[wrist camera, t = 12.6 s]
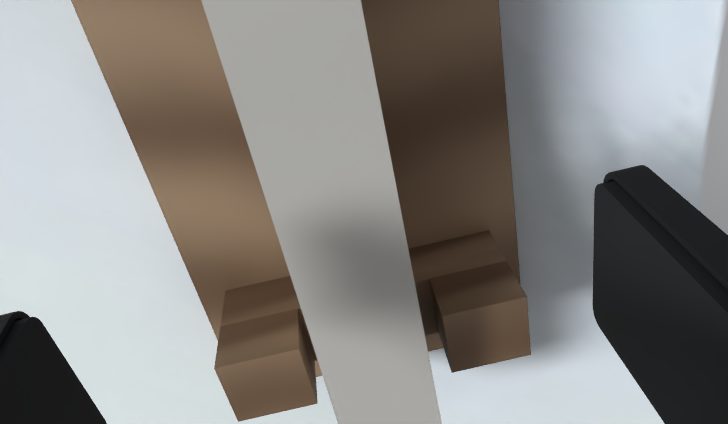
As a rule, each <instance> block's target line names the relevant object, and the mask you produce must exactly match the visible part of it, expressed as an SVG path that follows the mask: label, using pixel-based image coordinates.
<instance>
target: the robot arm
mask: <svg viewBox="0 0 728 424" xmlns="http://www.w3.org/2000/svg"><path fill="white" fill-rule="evenodd" d="M593 311H594V316H595V319H596V321H597V324H598V326H599V327H600V329H601V330H602V332H603V333H604V335H605V336H606V338H607V339H608V341H609V342H610V344H611V345H612V347H613V348H614V349H615V351H616V352H617V354H618V355H619V357H620V358H621V360H622V361H623V363H624V364H625V366H626V367H627V369H628V370H629V372H630V373H631V374H632V376H633V377H634V379H635V380H636V382H637V383H638V385H639V386H640V388H641V389H642V391H643V392H644V394H645V395H646V397H647V398H648V399H649V401H650V402H651V404H652V405H653V407H654V408H655V410H656V411H657V413H658V414H659V416H660V417H661V419H662V420H663V422H664V423H665V424H728V235H727V234H726V233H724V232H723V231H722V230H721V229H720V228H718V227H717V226H716V225H715V224H714V223H713V222H711V221H710V220H709V219H708V218H707V217H706V216H704V215H703V214H702V213H701V212H700V211H698V210H697V209H696V208H695V207H694V206H693V205H691V204H690V203H689V202H688V201H687V200H686V199H684V198H683V197H682V196H681V195H680V194H679V193H677V192H676V191H675V190H674V189H673V188H671V187H670V186H669V185H668V184H667V183H666V182H664V181H663V180H662V179H661V178H660V177H659V176H657V175H656V174H655V173H654V172H653V171H652V170H650V169H649V168H648V167H646V166H644V165H640V166H635V167H631V168H627V169H623V170H618V171H614V172H610V173H608V174H607V175H606V176H605V178H604V183H601V184H598V185H597V186H596V188H595V198H594V261H593ZM0 424H107V423H106V421H105V419H104V418H103V416H102V415H101V413H100V412H99V410H98V409H97V407H96V405H95V404H94V402H93V401H92V399H91V398H90V396H89V395H88V393H87V392H86V390H85V388H84V387H83V385H82V384H81V382H80V381H79V379H78V378H77V376H76V375H75V373H74V371H73V370H72V368H71V367H70V365H69V364H68V362H67V361H66V359H65V358H64V356H63V354H62V353H61V351H60V350H59V348H58V347H57V345H56V344H55V342H54V341H53V339H52V337H51V336H50V334H49V333H48V331H47V330H46V328H45V327H44V325H43V324H42V322H41V321H40V320H39V319H38V318H36V317H29V316H28V315H27V314H26V313H24V312H20V311H17V312H12V313H8V314H4V315H0Z"/></svg>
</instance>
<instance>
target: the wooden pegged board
mask: <svg viewBox="0 0 728 424" xmlns="http://www.w3.org/2000/svg"><path fill="white" fill-rule="evenodd" d="M71 1H72V4H73V6H74V8H75V11H76V13H77V15H78V18H79V20H80V22H81V25H82V27H83V29H84V32H85V34H86V36H87V38H88V41H89V43H90V45H91V48H92V50H93V52H94V55H95V57H96V59H97V62H98V64H99V66H100V69H101V71H102V73H103V76H104V78H105V80H106V82H107V85H108V87H109V89H110V92H111V94H112V96H113V99H114V101H115V103H116V106H117V108H118V110H119V113H120V115H121V117H122V120H123V122H124V124H125V126H126V129H127V131H128V133H129V136H130V138H131V140H132V143H133V145H134V147H135V150H136V152H137V154H138V157H139V159H140V161H141V164H142V166H143V168H144V170H145V173H146V175H147V177H148V180H149V182H150V184H151V187H152V189H153V191H154V194H155V196H156V198H157V201H158V203H159V205H160V208H161V210H162V212H163V214H164V217H165V219H166V221H167V224H168V226H169V228H170V231H171V233H172V235H173V238H174V240H175V242H176V245H177V247H178V249H179V252H180V254H181V256H182V259H183V261H184V263H185V265H186V268H187V270H188V272H189V275H190V277H191V279H192V282H193V284H194V286H195V289H196V291H197V293H198V296H199V298H200V300H201V303H202V305H203V307H204V309H205V312H206V314H207V316H208V319H209V321H210V323H211V326H212V328H213V330H214V333H215V335H216V337H217V340H218V346H217V354H216V361H215V368H214V369H215V371H216V373H217V375H218V378H219V380H220V382H221V384H222V386H223V389H224V391H225V393H226V395H227V398H228V400H229V402H230V404H231V406H232V409H233V411H234V413H235V415H236V418H237V420H238V422H239V421H243V420H247V419H252V418H256V417H260V416H265V415H269V414H274V413H278V412H282V411H287V410H291V409H295V408H300V407H304V406H308V405H313V404H317V390H316V377H318V376H322V372H321V369H320V366H319V363H318V360H317V357H316V353H315V350H314V347H313V344H312V341H311V338H310V335H309V332H308V329H307V326H306V323H305V319H304V316H303V313H302V310H301V307H300V304H299V301H298V298H297V295H296V292H295V289H294V285H293V282H292V279H291V276H290V273H289V270H288V267H287V264H286V261H285V258H284V255H283V251H282V248H281V245H280V242H279V239H278V236H277V233H276V230H275V227H274V224H273V221H272V217H271V214H270V211H269V208H268V205H267V202H266V199H265V196H264V193H263V190H262V187H261V183H260V180H259V177H258V174H257V171H256V168H255V165H254V162H253V159H252V156H251V153H250V149H249V146H248V143H247V140H246V137H245V134H244V131H243V128H242V125H241V122H240V119H239V115H238V112H237V109H236V106H235V103H234V100H233V97H232V94H231V91H230V88H229V84H228V81H227V78H226V75H225V72H224V69H223V66H222V63H221V60H220V57H219V54H218V50H217V47H216V44H215V41H214V38H213V35H212V32H211V29H210V26H209V23H208V20H207V16H206V13H205V10H204V7H203V4H202V1H201V0H71ZM361 4H362V10H363V15H364V20H365V25H366V31H367V36H368V41H369V46H370V52H371V57H372V62H373V67H374V72H375V78H376V83H377V88H378V93H379V99H380V104H381V109H382V114H383V119H384V125H385V130H386V135H387V140H388V146H389V151H390V156H391V161H392V167H393V172H394V177H395V182H396V187H397V193H398V198H399V203H400V208H401V214H402V219H403V224H404V229H405V235H406V240H407V245H408V250H409V255H410V261H411V266H412V271H413V276H414V282H415V287H416V292H417V297H418V302H419V308H420V313H421V318H422V323H423V329H424V334H425V339H426V344H427V350H428V351H432V350H436V349H440V348H444V350H445V353H446V356H447V359H448V362H449V365H450V368H451V371H452V372H457V371H461V370H466V369H470V368H474V367H479V366H483V365H487V364H492V363H496V362H500V361H505V360H509V359H514V358H518V357H522V356H527V355H531V349H530V335H529V321H528V307H527V296H526V295H525V293H524V291H523V289H522V288H521V286H520V275H519V262H518V249H517V236H516V223H515V210H514V197H513V184H512V171H511V158H510V146H509V133H508V120H507V107H506V94H505V81H504V68H503V55H502V42H501V29H500V17H499V4H498V0H361Z"/></svg>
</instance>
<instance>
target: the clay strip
mask: <svg viewBox="0 0 728 424" xmlns="http://www.w3.org/2000/svg"><path fill="white" fill-rule="evenodd" d="M201 1H202V4H203V7H204V10H205V13H206V16H207V20H208V23H209V26H210V29H211V32H212V35H213V38H214V41H215V44H216V47H217V50H218V54H219V57H220V60H221V63H222V66H223V69H224V72H225V75H226V78H227V81H228V84H229V88H230V91H231V94H232V97H233V100H234V103H235V106H236V109H237V112H238V115H239V119H240V122H241V125H242V128H243V131H244V134H245V137H246V140H247V143H248V146H249V149H250V153H251V156H252V159H253V162H254V165H255V168H256V171H257V174H258V177H259V180H260V183H261V187H262V190H263V193H264V196H265V199H266V202H267V205H268V208H269V211H270V214H271V217H272V221H273V224H274V227H275V230H276V233H277V236H278V239H279V242H280V245H281V248H282V251H283V255H284V258H285V261H286V264H287V267H288V270H289V273H290V276H291V279H292V282H293V285H294V289H295V292H296V295H297V298H298V301H299V304H300V307H301V310H302V313H303V316H304V319H305V323H306V326H307V329H308V332H309V335H310V338H311V341H312V344H313V347H314V350H315V353H316V357H317V360H318V363H319V366H320V369H321V372H322V375H323V378H324V381H325V384H326V387H327V391H328V394H329V397H330V400H331V403H332V406H333V409H334V412H335V415H336V418H337V421H338V424H442V423H441V417H440V412H439V407H438V402H437V397H436V391H435V386H434V381H433V376H432V370H431V365H430V360H429V355H428V350H427V344H426V339H425V334H424V329H423V323H422V318H421V313H420V308H419V302H418V297H417V292H416V287H415V282H414V276H413V271H412V266H411V261H410V255H409V250H408V245H407V240H406V235H405V229H404V224H403V219H402V214H401V208H400V203H399V198H398V193H397V187H396V182H395V177H394V172H393V167H392V161H391V156H390V151H389V146H388V140H387V135H386V130H385V125H384V119H383V114H382V109H381V104H380V99H379V93H378V88H377V83H376V78H375V72H374V67H373V62H372V57H371V52H370V46H369V41H368V36H367V31H366V25H365V20H364V15H363V10H362V4H361V0H201Z"/></svg>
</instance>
